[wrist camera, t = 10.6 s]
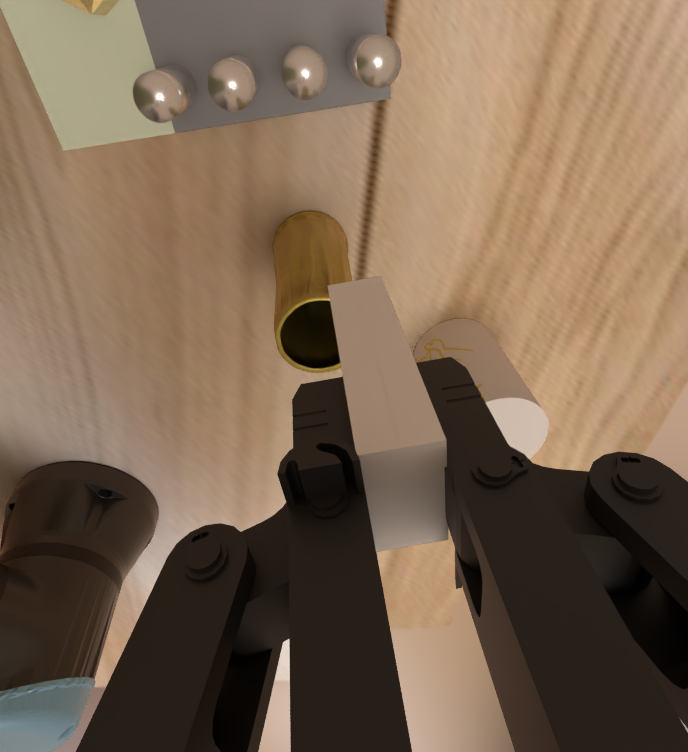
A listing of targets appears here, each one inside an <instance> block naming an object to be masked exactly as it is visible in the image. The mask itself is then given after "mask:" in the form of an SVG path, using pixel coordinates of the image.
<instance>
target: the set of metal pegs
mask: <svg viewBox="0 0 688 752" xmlns="http://www.w3.org/2000/svg"><path fill="white" fill-rule="evenodd" d="M346 65H347V68H348V70H349V71H350V73H351V74H352V75H353V76H354V77H356V78H357V79H359V80H360V81H362V82H363V83H365V84H366V85H368V86H370V87H372V88H384V87H386V86H388V85H390V84H391V83H392V82H393V81H394V80H395V79H396V77H397V76H398V73H399V71H400V67H401V53H400V50H399V48H398V46H397V44H396V43H395V41H394V40H393V39H391V38H390V37H388V36H385V35H372V34H362V35H359V36H357V37H355V38H354V39H353V40H352V41H351V42H350V44H349V45H348V48H347V51H346ZM282 75H283V81H284V84H285V86H286V88H287V89H288V91H289V92H290V93H291V94H292V95H293V96H295V97H296V98H298V99H302V100H310V99H313V98H315V97H317V96H318V95H319V94H320V93H321V92H322V91H323V89H324V88H325V85H326V82H327V67H326V64H325V61H324V59H323V58H322V56H321V55H320V54H319V53H318V52H317V51H315V50H314V49H312V48H311V47H309V46H307V45H296V46H293V47H292V48H291V49H289V51H288V52H287V53H286V55H285V58H284V61H283V69H282ZM258 84H259V74H258V71H257V68H256V66H255V65H254V63H253V62H252V61H251V60H250V59H249V58H247V57H245V56H243V55H232V56H230V57H228V58H225V59H223V60H221V61H218V62H217V63H216V64H214V66H213V67H212V68H211V70H210V72H209V75H208V89H209V92H210V95H211V97H212V99H213V100H214V101H215V103H216V104H217V105H218V106H220V107H221V108H223V109H225V110H227V111H233V112H235V111H240V110H242V109H244V108H245V107H247V106H248V104H249V103H250V102H251V100H252V98H253V96H254V94H255V92H256V90H257V88H258ZM196 96H197V86H196V82H195V80H194V78H193V76H192V75H191V73H190V72H189V71H188V70H186V69H185V68H183V67H181V66H178V65H169V66H166V67H162V68H158V69H155V70H151V71H148V72H145V73H142V74H141V75H140V76H139V77H138V78H137V79H136V81H135V83H134V86H133V98H134V102H135V104H136V106H137V108H138V110H139V111H140V112H141V113H142V114H143V115H144V116H145V117H146V118H147V119H149V120H151V121H153V122H156V123H166V122H169V121H171V120H173V119H174V118H175V117H176V116H178V115H179V114H180V113H182V112H183V111H184V110H186V109H187V108H188V107H190V106H191V105H192V104H193V103H194V101H195V99H196Z"/></svg>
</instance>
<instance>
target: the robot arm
mask: <svg viewBox="0 0 688 752" xmlns="http://www.w3.org/2000/svg"><path fill="white" fill-rule="evenodd" d="M327 286H328V291H329V297H330V303H331V309H332V315H333V321H334V327H335V333H336V339H337V345H338V351H339V356H340V362H341V368H342V374H343V377H340V378H334V379H328V380H323V381H317V382H311V383H305V384H301V385H300V387H299V389H298V390H297V392H296V394H295V396H294V398H293V399H292V405H293V449H292V450H290V451H289V452H288V453H287V455H286V456H285V457H284V458H283V460H282V461H281V462H280V466H279V470H278V477H279V481H280V484H281V487H282V490H283V493H284V496H285V499H286V504H285V505H284V506H283V508H282V509H280V510H279V511H278V512H277V513H276V514H275V515H274V516H272V517H270V518H268V519H267V520H265V521H263V522H261V523H259V524H257V525H255V526H253V527H251V528H249V529H247V530H244V531H242V532H240V531H239V530H237V529H236V528H235V527H234V526H230V525H225V524H221V523H220V524H212V525H205V526H203V527H201V528H199V529H197V530H194V531H192V532H190V533H189V534H188V535H187V536H185V537H184V538H183V539H182V540H181V541H179V542H178V543H177V544H176V546H175V547H174V549H173V550H172V552H171V553H170V554H169V556H168V557H167V560H166V562H165V564H164V566H163V568H162V570H161V572H160V574H159V577H158V579H157V581H156V583H155V585H154V587H153V589H152V591H151V594H150V596H149V598H148V600H147V602H146V604H145V606H144V608H143V611H142V613H141V615H140V617H139V619H138V621H137V623H136V625H135V627H134V630H133V632H132V634H131V636H130V638H129V640H128V642H127V644H126V647H125V649H124V651H123V653H122V655H121V657H120V659H119V661H118V664H117V666H116V668H115V670H114V672H113V674H112V676H111V678H110V680H109V683H108V685H107V687H106V689H105V691H104V693H103V695H102V698H101V700H100V702H99V704H98V706H97V708H96V710H95V713H94V714H93V717H92V719H91V721H90V723H89V725H88V727H87V729H86V732H85V734H84V736H83V738H82V740H81V743H80V744H79V746H78V748H77V750H76V752H258V750H259V745H260V741H261V736H262V732H263V728H264V723H265V719H266V714H267V710H268V705H269V701H270V697H271V692H272V688H273V683H274V679H275V675H276V670H277V666H278V661H279V657H280V652H281V648H282V644H283V642H284V641H285V640H287V639H289V638H290V716H291V717H290V718H291V720H290V721H291V752H412V749H411V743H410V738H409V733H408V727H407V721H406V716H405V710H404V705H403V699H402V693H401V688H400V682H399V677H398V671H397V666H396V660H395V654H394V649H393V643H392V638H391V632H390V626H389V621H388V615H387V610H386V604H385V599H384V593H383V587H382V582H381V576H380V571H379V565H378V560H377V554H376V552H380V551H385V550H391V549H397V548H403V547H408V546H414V545H420V544H426V543H431V542H437V541H443V540H448V527H449V530H450V533H451V536H452V539H453V542H454V545H455V581H456V589H457V588H462V586H463V590H464V593H465V596H466V599H467V602H468V605H469V608H470V612H471V615H472V618H473V621H474V624H475V627H476V630H477V634H478V637H479V640H480V643H481V646H482V649H483V652H484V656H485V659H486V662H487V665H488V668H489V671H490V674H491V678H492V681H493V684H494V687H495V690H496V693H497V696H498V699H499V703H500V706H501V709H502V712H503V715H504V718H505V721H506V725H507V728H508V731H509V734H510V737H511V740H512V743H513V746H514V750H515V752H688V733H687V731H686V730H685V727H684V726H683V724H682V722H683V723H684V724H685V725H686V726H687V728H688V482H687V481H686V480H685V479H683V478H682V477H681V476H679V475H678V474H677V473H676V472H674V471H673V470H672V469H671V468H669V467H667V466H666V465H664V464H662V463H660V462H659V461H657V460H655V459H653V458H650V457H647V456H644V455H641V454H637V453H627V452H616V453H611V454H606V455H603V456H602V457H600V458H599V459H597V460H596V461H594V462H593V464H592V466H591V469H590V471H589V472H586V471H574V470H562V469H553V468H547V467H543V466H540V465H537V464H534V463H532V462H531V461H530V460H529V459H528V458H527V456H526V455H525V454H523V453H522V452H520V451H518V450H516V449H514V448H513V447H510V446H509V444H508V443H507V441H506V439H505V438H504V436H503V434H502V432H501V430H500V428H499V426H498V425H497V423H496V421H495V419H494V417H493V415H492V414H491V412H490V410H489V408H488V406H487V404H486V403H485V401H484V399H483V398H482V397H481V393H480V392H479V390H478V388H477V386H476V385H475V382H474V381H473V379H472V377H471V375H470V373H469V371H468V370H467V368H466V367H465V366H463V365H462V364H460V363H459V362H458V361H456V360H455V359H453V358H452V357H446V358H441V359H435V360H429V361H423V362H418V363H416V362H415V360H414V357H413V355H412V352H411V350H410V347H409V345H408V342H407V340H406V337H405V335H404V332H403V330H402V327H401V325H400V322H399V320H398V317H397V315H396V312H395V310H394V307H393V305H392V302H391V300H390V297H389V295H388V292H387V290H386V287H385V285H384V282H383V280H382V277H381V276H379V277H373V278H367V279H362V280H356V281H350V282H345V283H339V284H333V285H327ZM157 520H158V507H157V504H156V501H155V499H154V497H153V496H152V494H151V493H150V492H149V491H148V490H147V489H146V488H145V487H144V486H143V485H142V484H141V483H140V482H138V481H137V480H135V479H134V478H132V477H130V476H129V475H127V474H125V473H123V472H120V471H118V470H115V469H112V468H109V467H106V466H102V465H98V464H92V463H83V462H65V463H56V464H51V465H47V466H44V467H41V468H39V469H36V470H34V471H32V472H31V473H29V474H28V475H26V476H25V477H24V478H23V479H22V480H21V481H20V482H19V484H18V485H17V487H16V489H15V490H14V492H13V494H12V495H11V497H10V499H9V501H8V503H7V506H6V510H5V520H4V525H3V531H2V539H1V546H0V752H52V751H54V750H55V749H57V748H58V747H60V746H61V745H63V744H64V743H65V742H66V741H67V740H68V739H69V738H70V737H71V736H72V734H73V733H74V731H75V730H76V728H77V726H78V724H79V722H80V719H81V716H82V714H83V711H84V709H85V706H86V703H87V701H88V698H89V695H90V692H91V691H92V689H93V688H94V685H95V680H94V679H95V676H96V672H97V669H98V665H99V662H100V658H101V655H102V651H103V648H104V645H105V641H106V638H107V634H108V631H109V627H110V624H111V620H112V617H113V614H114V610H115V607H116V603H117V600H118V596H119V593H120V590H121V586H122V583H123V580H124V579H125V577H126V576H127V574H128V573H129V571H130V570H131V568H132V567H133V565H134V564H135V563H136V561H137V559H138V558H139V556H140V555H141V553H142V552H143V550H144V549H145V548H146V547H147V546H148V544H149V543H150V541H151V539H152V537H153V535H154V531H155V528H156V524H157ZM679 718H680V719H681V720H682V722H681V721H680V719H679Z"/></svg>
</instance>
